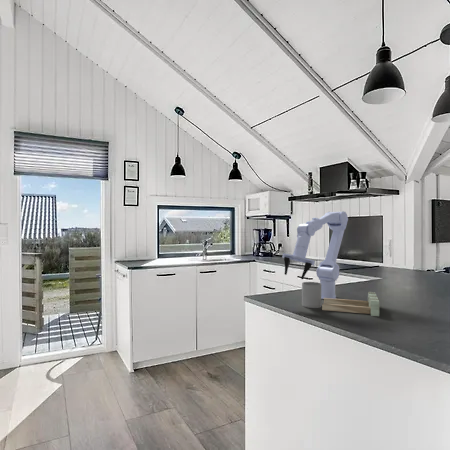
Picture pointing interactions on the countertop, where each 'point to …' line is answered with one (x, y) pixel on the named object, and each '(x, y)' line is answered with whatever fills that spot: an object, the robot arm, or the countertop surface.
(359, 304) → the wooden tray
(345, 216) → the robot arm
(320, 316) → the countertop surface
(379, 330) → the countertop surface
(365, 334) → the countertop surface
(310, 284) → the cup
